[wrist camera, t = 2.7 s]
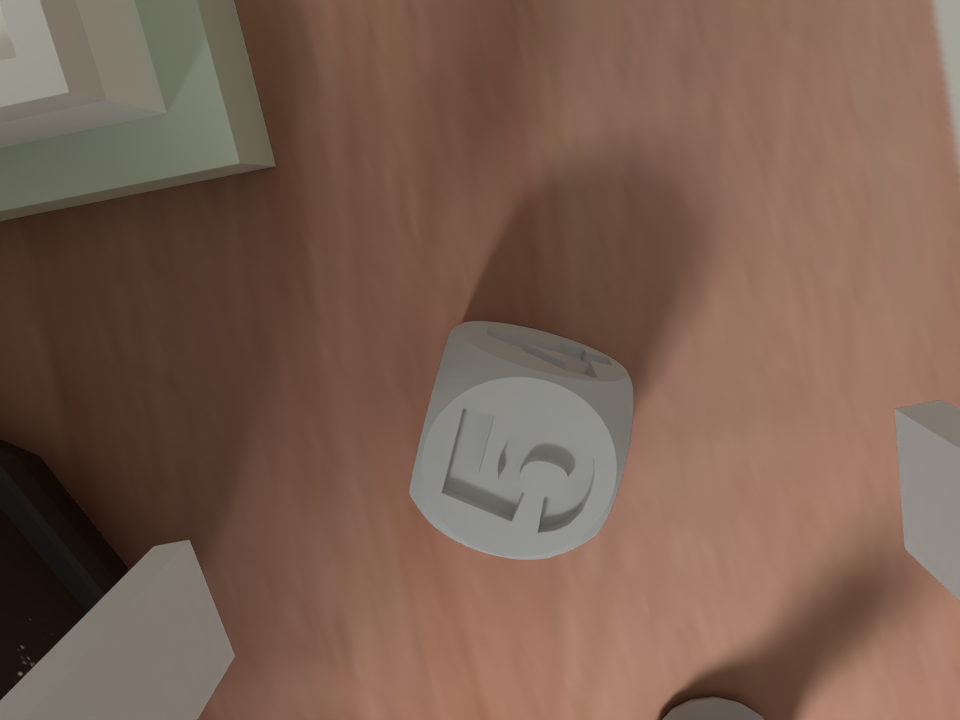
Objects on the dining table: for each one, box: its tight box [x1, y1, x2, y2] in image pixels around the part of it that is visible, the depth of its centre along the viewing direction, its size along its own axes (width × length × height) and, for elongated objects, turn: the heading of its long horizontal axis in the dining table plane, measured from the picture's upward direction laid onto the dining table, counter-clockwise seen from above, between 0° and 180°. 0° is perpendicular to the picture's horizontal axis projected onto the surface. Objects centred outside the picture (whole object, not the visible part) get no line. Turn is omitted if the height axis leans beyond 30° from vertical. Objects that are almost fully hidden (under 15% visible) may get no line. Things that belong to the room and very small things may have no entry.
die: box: [409, 321, 634, 560], centre depth 18 cm, size 5×5×5 cm
